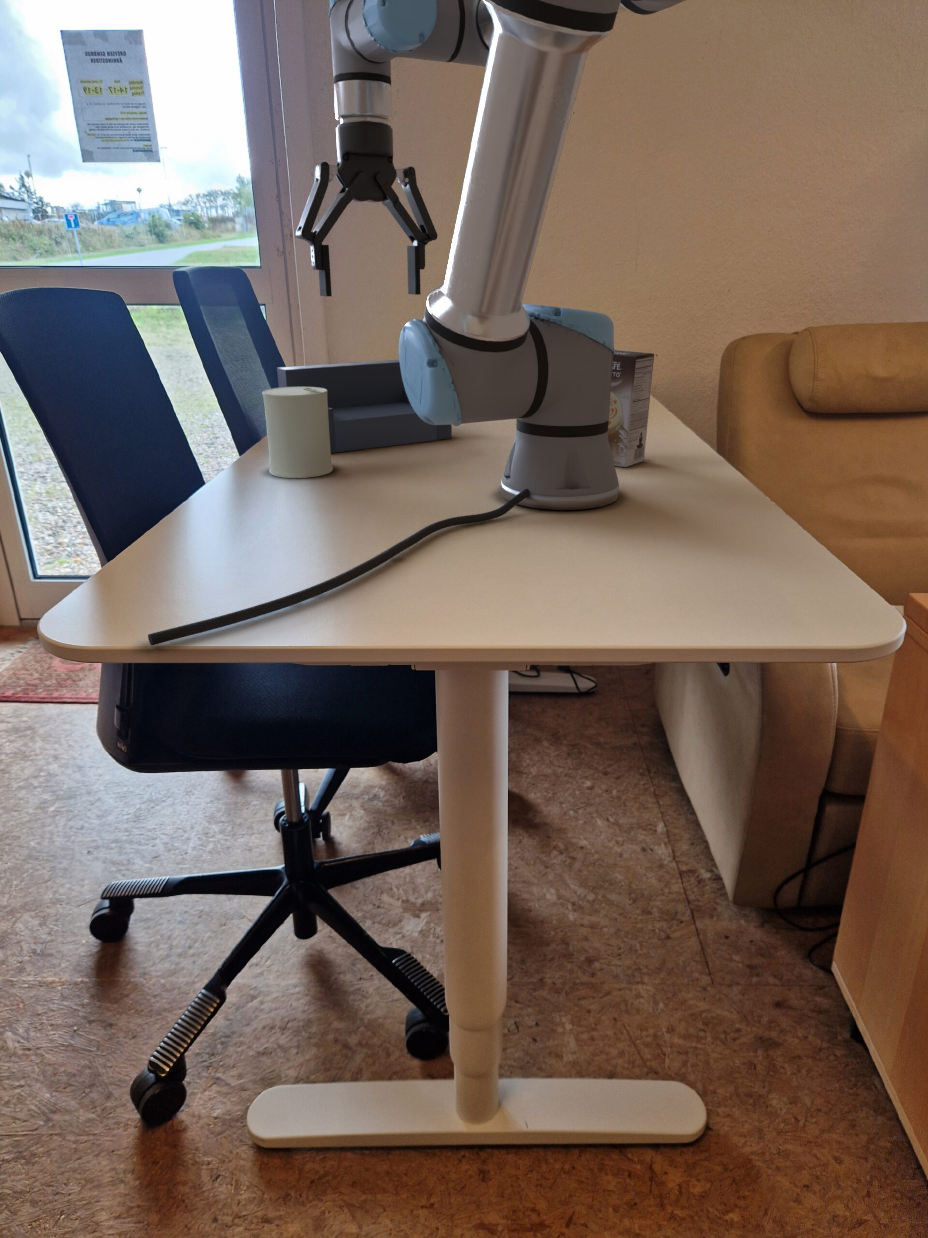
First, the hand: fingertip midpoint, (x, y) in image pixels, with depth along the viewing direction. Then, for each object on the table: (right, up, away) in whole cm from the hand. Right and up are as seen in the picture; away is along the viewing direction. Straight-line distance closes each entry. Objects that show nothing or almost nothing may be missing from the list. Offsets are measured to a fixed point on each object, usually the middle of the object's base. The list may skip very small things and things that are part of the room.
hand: (371, 295), depth 117 cm
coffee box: (+36, -22, +10) cm, 43 cm away
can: (-11, -25, +3) cm, 27 cm away
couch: (-4, -15, +26) cm, 30 cm away
